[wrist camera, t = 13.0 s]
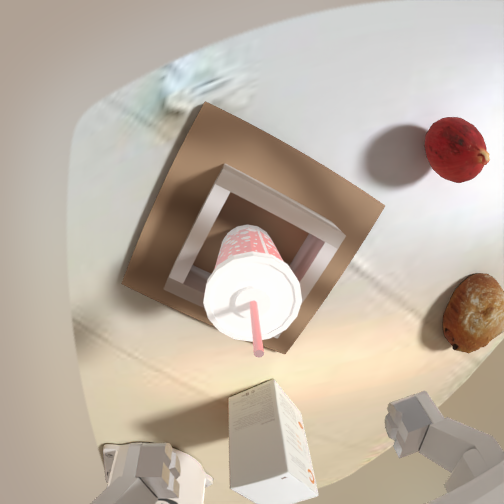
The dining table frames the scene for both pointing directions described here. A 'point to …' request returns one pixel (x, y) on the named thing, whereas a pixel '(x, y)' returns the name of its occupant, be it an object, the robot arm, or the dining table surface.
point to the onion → (455, 149)
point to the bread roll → (474, 313)
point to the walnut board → (247, 217)
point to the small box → (269, 447)
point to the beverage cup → (251, 288)
